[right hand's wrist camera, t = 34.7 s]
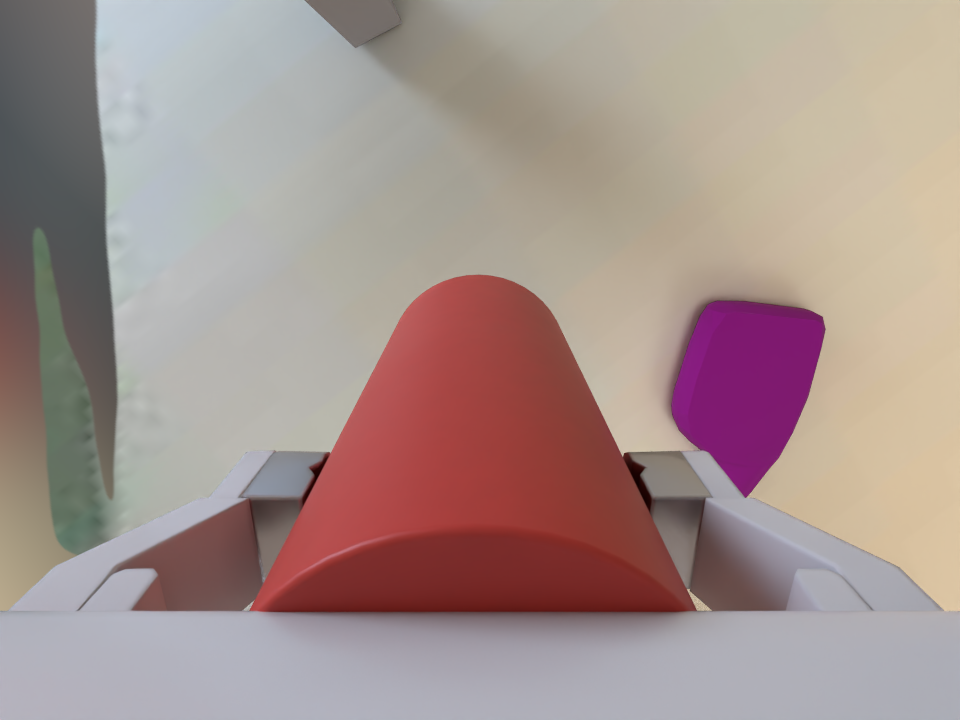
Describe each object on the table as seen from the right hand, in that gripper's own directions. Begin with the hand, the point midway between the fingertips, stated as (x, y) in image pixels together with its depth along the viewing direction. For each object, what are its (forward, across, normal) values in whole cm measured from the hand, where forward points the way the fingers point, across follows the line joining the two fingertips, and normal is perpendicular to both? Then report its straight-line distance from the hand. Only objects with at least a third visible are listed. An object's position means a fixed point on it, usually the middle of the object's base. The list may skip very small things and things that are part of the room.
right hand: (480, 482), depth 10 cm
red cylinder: (+7, 0, 0) cm, 7 cm away
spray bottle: (+35, +21, -17) cm, 44 cm away
